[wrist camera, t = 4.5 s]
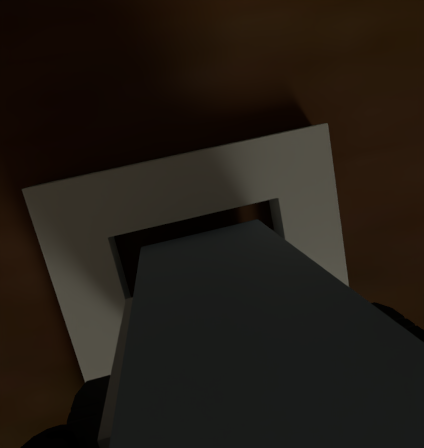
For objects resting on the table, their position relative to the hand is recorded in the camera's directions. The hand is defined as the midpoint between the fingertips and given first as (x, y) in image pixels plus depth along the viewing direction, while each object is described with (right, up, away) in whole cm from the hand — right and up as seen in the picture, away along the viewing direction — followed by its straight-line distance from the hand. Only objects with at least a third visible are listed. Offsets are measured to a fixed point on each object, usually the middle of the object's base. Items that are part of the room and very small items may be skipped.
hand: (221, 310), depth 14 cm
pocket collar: (-1, +1, +3) cm, 3 cm away
